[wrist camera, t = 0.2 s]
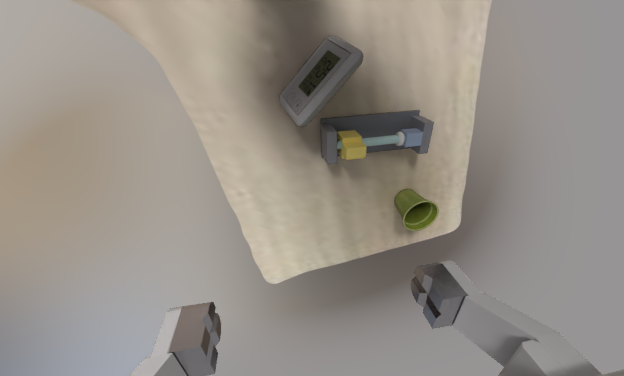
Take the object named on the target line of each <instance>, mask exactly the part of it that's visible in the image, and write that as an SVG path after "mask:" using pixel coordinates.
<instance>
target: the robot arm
mask: <svg viewBox="0 0 624 376" xmlns="http://www.w3.org/2000/svg"><path fill="white" fill-rule="evenodd" d="M414 274H415V277H414V278H413V279H412V281H411V290H412V293H413V296H414V298H415V300H416V302H417V303H418V304H420V305H421V306H423V307H424V309H423V313H424V315H425V317H426V319H427V320H428V322H429V324H430V325H431V327H432V328H439V327H444V326H451V325H453V327H454V328H455V329H457V330H458V331H459V332H460V333H462V334H463V335H464V336H466V337H467V338H468V339H469V340H471V341H472V342H473V343H474V344H476V345H477V346H478V347H479V348H481V349H482V350H483V351H485V352H486V353H487V354H488V355H490V356H491V357H492V358H494V359H495V360H496V361H497V362H498V363H500V364H501V365H502V366H504V368H503V370H502V371H501V372H500V374H499V375H498V376H624V370H620V371H616V372H612V373H608V374H604V375H602V374H601V373H600V372H599V371H598V370H597V369H596V368H595V367H594V366H593V365H592V364H591V363H590V362H589V361H587V359H585V357H583V355H582V354H580V352H579V351H578V350H577V349H575V348H574V347H573V346H572V345H571V344H570V343H569V342H568V341H567V340H566V339H565V338H564V337H563V336H562V335H561V334H560V333H559V332H557V331H555V330H553V329H551V328H550V327H548V326H546V325H544V324H542V323H540V322H538V321H537V320H535V319H533V318H531V317H529V316H527V315H525V314H524V313H522V312H520V311H518V310H516V309H514V308H512V307H511V306H509V305H507V304H505V303H503V302H501V301H499V300H498V299H496V298H494V297H492V296H490V295H488V294H486V293H481V292H480V291H479V290H478V289H477V288H476V286H475V285H474V284H473V283H472V282H471V281H470V280H469V278H468V277H466V275H465V274H464V273H463V272H462V271H461V269H459V267H458V266H457V265H456V264H455V263H454V262H453V261H444V262H439V263H438V262H437V263H432V264H426V265H421V266H417V267H416V268H415V269H414ZM220 335H221V322H220V317H219V315H218V314H217V313H215V305H214V303H213V302H210V303H202V304H197V305H190V306H183V307H176V308H170V309H169V310H168V311H167V313H166V315H165V318H164V320H163V323H162V326H161V329H160V331H159V334H158V337H157V340H156V343H155V345H154V348H153V351H152V354H151V356H150V357H148V358H145V359H144V360H143V361H142V363H141V364H140V365H139V366H138V367H137V368H136V369H135V370H134V372H132V374H131V375H130V376H206V375H211V374H215V370H216V363H217V357H218V352H217V350H216V348H215V346H216V345H217V344H218V342H219V341H220Z"/></svg>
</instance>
